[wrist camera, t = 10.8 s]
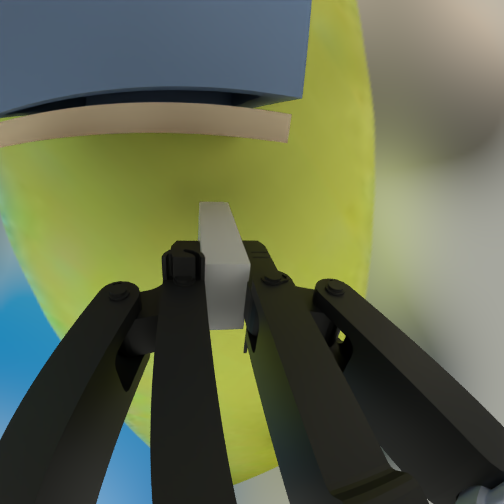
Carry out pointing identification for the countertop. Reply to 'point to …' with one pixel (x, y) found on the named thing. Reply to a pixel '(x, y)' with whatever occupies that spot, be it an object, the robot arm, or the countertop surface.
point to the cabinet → (150, 52)
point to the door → (147, 122)
